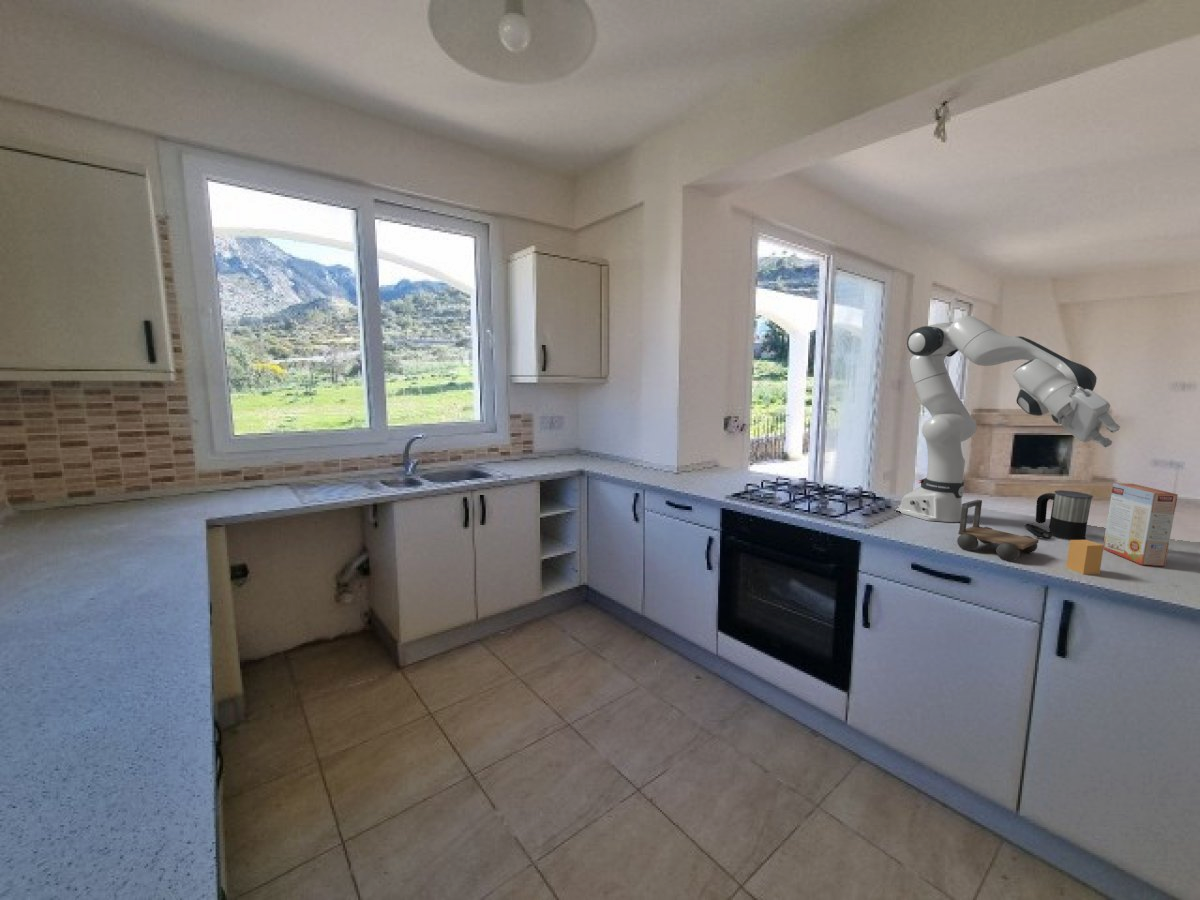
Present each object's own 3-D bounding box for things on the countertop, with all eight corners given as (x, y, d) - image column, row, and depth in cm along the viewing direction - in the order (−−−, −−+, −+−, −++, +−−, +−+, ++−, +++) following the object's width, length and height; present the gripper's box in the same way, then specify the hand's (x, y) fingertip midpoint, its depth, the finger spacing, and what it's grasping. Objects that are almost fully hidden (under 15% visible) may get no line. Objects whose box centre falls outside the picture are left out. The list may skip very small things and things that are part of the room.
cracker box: (1166, 567, 137) (1179, 493, 134) (1140, 565, 138) (1153, 492, 135) (1124, 550, 150) (1135, 483, 147) (1101, 548, 152) (1111, 482, 148)
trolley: (954, 547, 152) (959, 504, 150) (975, 539, 160) (980, 498, 158) (1018, 564, 139) (1024, 517, 137) (1038, 555, 146) (1044, 510, 144)
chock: (1066, 567, 136) (1070, 540, 135) (1081, 567, 137) (1086, 539, 135) (1083, 574, 132) (1087, 545, 131) (1099, 574, 132) (1103, 545, 131)
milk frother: (1089, 538, 162) (1096, 494, 160) (1078, 548, 152) (1085, 501, 150) (1033, 527, 173) (1038, 486, 171) (1019, 536, 164) (1025, 492, 162)
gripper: (1087, 376, 130) (1135, 413, 122) (1075, 412, 145) (1117, 446, 137) (1061, 390, 132) (1107, 427, 124) (1052, 423, 147) (1093, 458, 139)
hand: (1112, 438), depth 130 cm, fingers open, 8 cm apart
